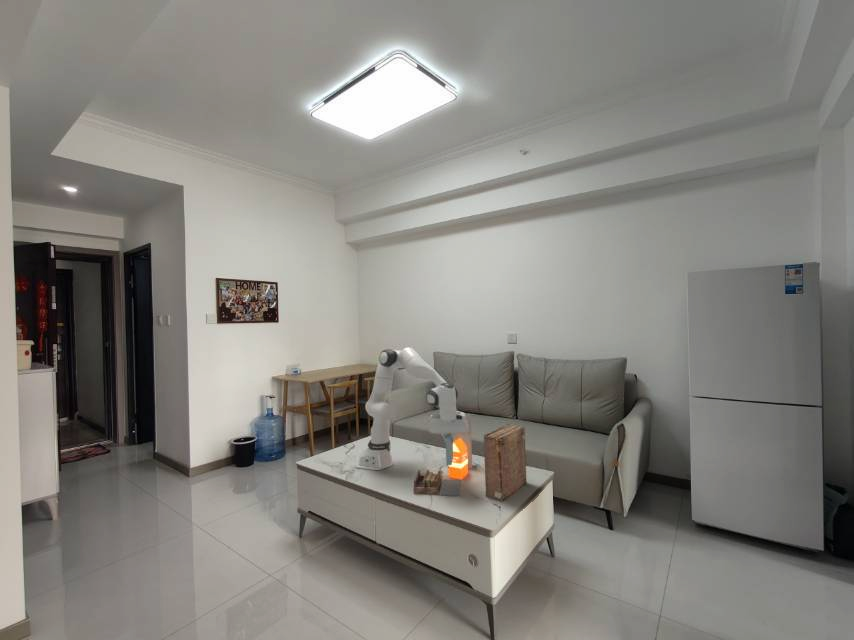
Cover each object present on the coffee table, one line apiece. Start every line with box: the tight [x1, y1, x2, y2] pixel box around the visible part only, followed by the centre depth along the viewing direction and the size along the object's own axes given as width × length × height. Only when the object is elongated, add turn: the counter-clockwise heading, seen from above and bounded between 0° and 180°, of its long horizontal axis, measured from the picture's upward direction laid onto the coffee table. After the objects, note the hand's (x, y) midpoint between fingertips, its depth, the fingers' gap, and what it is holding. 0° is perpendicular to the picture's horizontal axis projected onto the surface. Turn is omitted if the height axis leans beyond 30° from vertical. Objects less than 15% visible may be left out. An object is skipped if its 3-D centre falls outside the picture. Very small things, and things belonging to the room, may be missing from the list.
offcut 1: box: [426, 471, 434, 487], centre depth 204 cm, size 2×10×6 cm, turn 171°
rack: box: [413, 469, 442, 495], centre depth 204 cm, size 12×16×6 cm
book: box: [483, 423, 527, 502], centre depth 198 cm, size 25×9×30 cm, turn 139°
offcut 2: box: [431, 473, 438, 488], centre depth 204 cm, size 2×9×6 cm, turn 171°
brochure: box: [447, 413, 473, 469], centre depth 230 cm, size 14×6×30 cm, turn 84°
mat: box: [438, 478, 462, 497], centre depth 202 cm, size 10×18×1 cm, turn 171°
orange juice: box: [448, 438, 469, 480], centre depth 218 cm, size 8×9×20 cm
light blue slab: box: [445, 433, 453, 466], centre depth 202 cm, size 2×12×13 cm, turn 172°
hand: (449, 441), depth 202 cm, fingers closed on light blue slab, 2 cm apart
